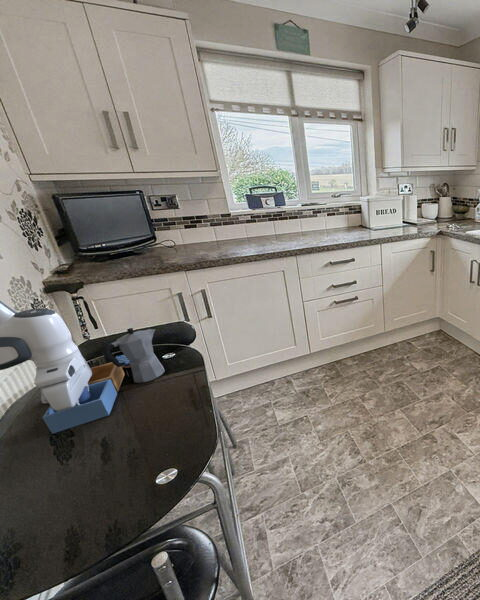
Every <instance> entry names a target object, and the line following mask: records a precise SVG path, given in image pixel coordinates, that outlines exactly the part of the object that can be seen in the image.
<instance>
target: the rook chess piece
mask: <svg viewBox="0 0 480 600" xmlns="http://www.w3.org/2000/svg"><path fill="white" fill-rule="evenodd" d="M34 381H35V379H33V382H34ZM33 385H35V383H33ZM38 390H39V391H40V401H41V403H42V404H45V405H46V404H47V405H48V404H49V403H48V401H47V399H46V398H45V396H44V394H43V392H42V387H41V388H38Z"/></svg>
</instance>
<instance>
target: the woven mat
mask: <svg viewBox="0 0 480 600" xmlns="http://www.w3.org/2000/svg"><path fill="white" fill-rule="evenodd" d="M114 357H115V358H116V359H118V361H119V363H123V362H125V365H123V366H121V367H122V369H128V368H131V364H130V360H129V359H127V358H126V356H125V355H124V354H121V355H116V356H114Z"/></svg>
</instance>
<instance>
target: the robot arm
mask: <svg viewBox="0 0 480 600" xmlns="http://www.w3.org/2000/svg"><path fill="white" fill-rule="evenodd" d="M27 361H32V362H33V364H34V366H35V372H36V373H35V378H34V380H35V381H34V380H33V382H34V383H35V384H34V383H33V384H34V386H35V387H36V388H37V389H39V388H41V387H42V392H43V394H44V396H45V398H46V399H47V401H48V404H49V406H51V407H52V408H53V409H54V410H55V411H58V412H60V411H63V410H67V409H70V408H73V407H75V406H78V405H80V404H79V403H78V402H79V400H78V399H79V397H80V395H81V394H82V392H83V389H84V388H85V387H86V388H87V390H88V392H89V386H88V381H89V379H90V377H91V376H92V371H91V369H90V368H91V367H90V365H89V364H88V362H87V360H86V358H84V356H83V355H82V352H81V351H80V349H79V347H78V346H77V345H76V343H74V341H73V338H72V333H71V331H70V329H69V328H68V326H67V324H66V323H65V321H64V320H63V318H62V317H61V315H60V314H58V313H57V312H56V311H55V310H54V309H49V308H31V309H27V310H22V311H19V312H18V311H15V310H14V309H13V308H11V307H10V306H9V305H7V304H5V303H4V302H3V301H2V300H0V371H4V370H6V369H10V368H13V367H16V366H18V365H21V364H23V363H25V362H27ZM89 394H90V392H89ZM90 396H91V394H90Z"/></svg>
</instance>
